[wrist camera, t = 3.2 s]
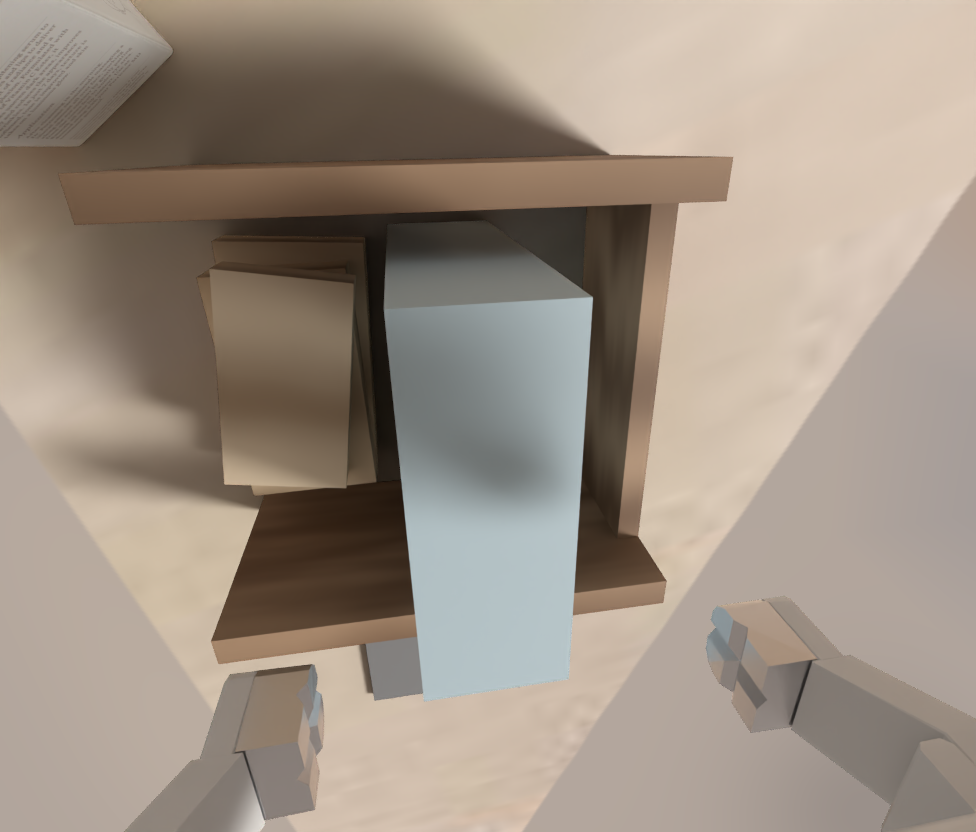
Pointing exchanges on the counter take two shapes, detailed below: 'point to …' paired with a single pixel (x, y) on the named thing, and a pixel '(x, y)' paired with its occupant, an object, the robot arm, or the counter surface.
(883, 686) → the robot arm
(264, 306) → the offcut stack
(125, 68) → the small box
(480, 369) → the pale blue upright block
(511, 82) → the counter surface
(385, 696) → the rubber mat
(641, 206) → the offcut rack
